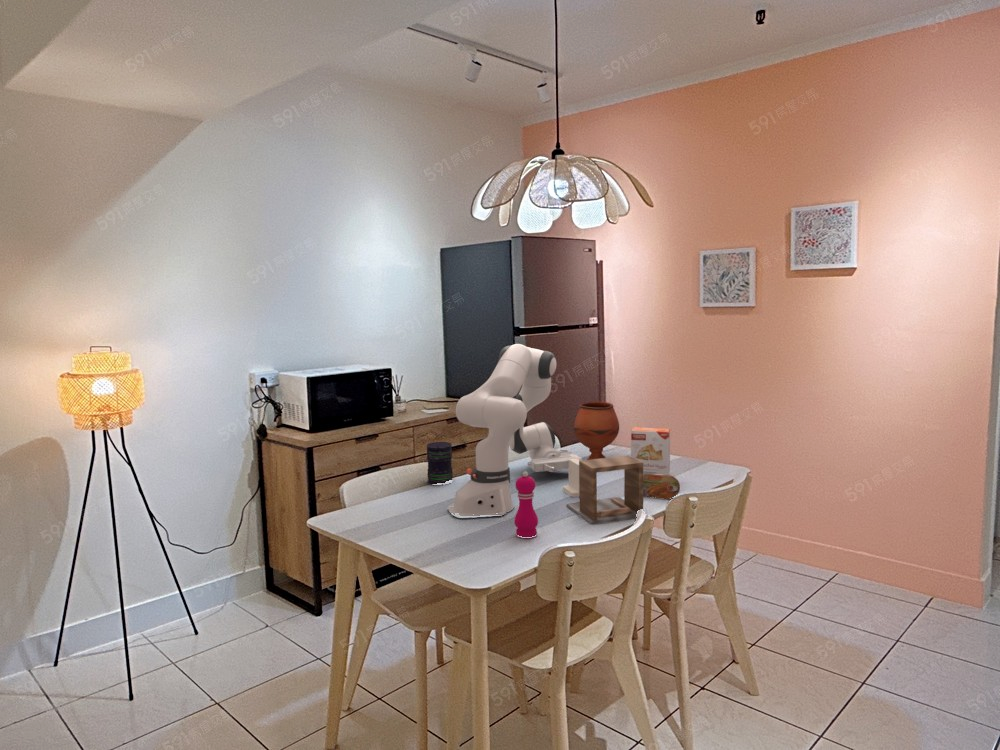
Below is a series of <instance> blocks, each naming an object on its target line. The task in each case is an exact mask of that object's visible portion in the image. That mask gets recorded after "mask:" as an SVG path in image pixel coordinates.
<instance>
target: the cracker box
mask: <svg viewBox="0 0 1000 750" xmlns="http://www.w3.org/2000/svg"><path fill="white" fill-rule="evenodd" d="M630 447H631V448H630V456H631V457H633V458H635V459H637V460H639V461H641V462H643V475H644V474H647V473H652V474H662V475H671V473H670V471H671V468H670V466H671V428H656V427H635V426H633V427H632V429H631V433H630Z"/></svg>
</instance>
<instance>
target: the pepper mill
mask: <svg viewBox="0 0 1000 750" xmlns="http://www.w3.org/2000/svg"><path fill="white" fill-rule="evenodd" d="M521 475H522V476H519V478H517V479H516V481H515V489H516V490H517V494H516V495H517V496H516V497H517V498H518V501H519V502H518V504H519V505H518V508H517V511H516V513H515V515H514V521H513V522H514V525H515V527H516V530H515V535H516V534H517V535H519V536H522V537H532V536H535V535H536V534H537V535H538V533H537V532H538V531H537V528H536V527H537V526H538V525H539V519H538V514H537V513H536V511H535V509H534V505H533V499H534V496H535V495H534V494H535V492H534V491H535V488H536V482H535V479H534V478H533V477H532V476H530V475H529V473H528V472H527V471H526V470H525V471H523V472H522V474H521Z"/></svg>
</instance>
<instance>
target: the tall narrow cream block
mask: <svg viewBox="0 0 1000 750" xmlns="http://www.w3.org/2000/svg"><path fill="white" fill-rule="evenodd" d="M579 461H580V460H578V459H576V458H575V459H568V465H569V469H568V485H562V491H563V490H564V491H563V492H565V493H566V494H567V495H569V496H570V497H572V498H575V497H579Z"/></svg>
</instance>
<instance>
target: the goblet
mask: <svg viewBox="0 0 1000 750" xmlns="http://www.w3.org/2000/svg"><path fill="white" fill-rule="evenodd" d="M578 407H579V408H578V411H577V415H576V417H575V421H574V425H573V432H574V435H575V437H576V439H577V440H578V441H579V442H580V444H582V445H583V446H585V447H586V448H588V449H589V452H590V453H591V454H590V455H589V456H588V457H587V459H586V460H591V459H600V458H606V456H605V455H604V454H603V453H602V452H603V451H604V448H606V447H608V446H609V445H610V444H612V443H613V442H614V441H615V440H616V439H617V437H618V436H619V433H620V421H619V418H618V416H617V413H616V410H615V409H614V405H613V403H612V402H607V401H597V400H596V401H587V402H583V403H580V404H579V406H578Z"/></svg>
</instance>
